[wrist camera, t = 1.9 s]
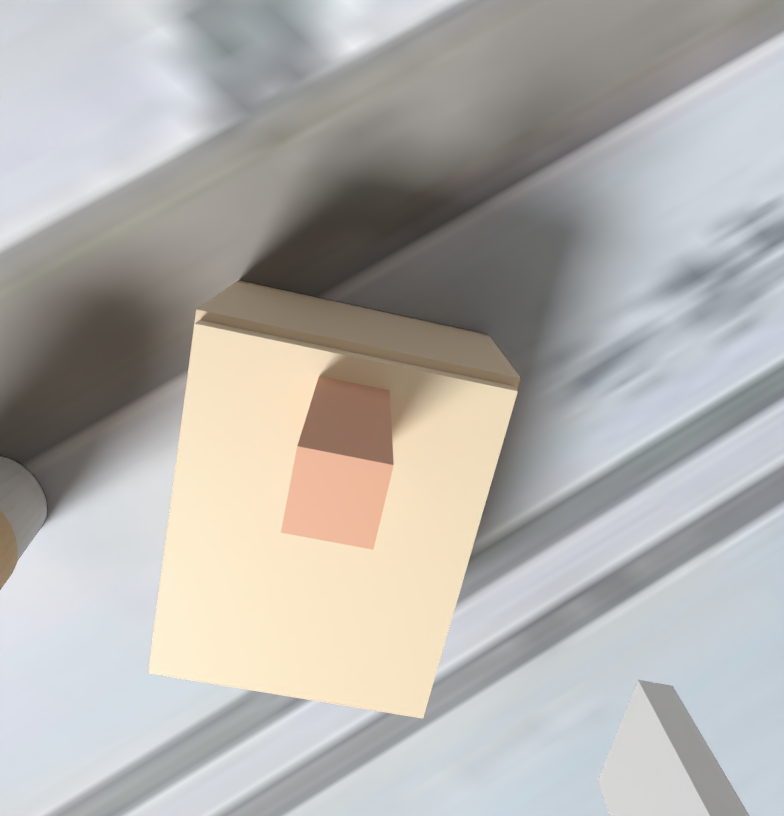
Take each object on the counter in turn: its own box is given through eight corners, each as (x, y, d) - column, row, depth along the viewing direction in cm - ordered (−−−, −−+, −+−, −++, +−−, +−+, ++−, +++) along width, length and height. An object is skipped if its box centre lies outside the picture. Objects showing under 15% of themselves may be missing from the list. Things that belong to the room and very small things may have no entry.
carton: (238, 280, 37) (196, 309, 28) (488, 334, 38) (521, 377, 29) (195, 566, 42) (149, 664, 33) (415, 606, 43) (424, 709, 35)
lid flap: (199, 319, 28) (124, 376, 20) (514, 386, 29) (568, 465, 21) (153, 662, 33) (78, 821, 25) (422, 706, 35) (436, 873, 26)
